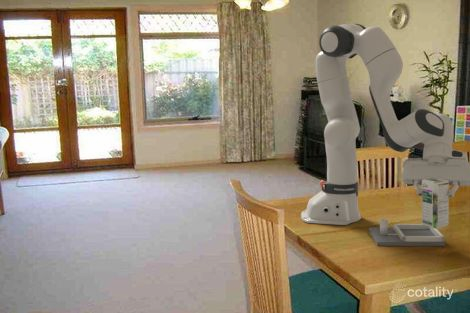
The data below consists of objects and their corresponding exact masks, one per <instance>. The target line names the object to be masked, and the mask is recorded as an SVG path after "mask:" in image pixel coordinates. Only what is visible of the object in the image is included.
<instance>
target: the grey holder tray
mask: <svg viewBox="0 0 470 313" xmlns="http://www.w3.org/2000/svg"><path fill="white" fill-rule="evenodd" d="M388 222H389V221H388V219H386V218H380V219H379V227H368V232H369V234H370V236H371V237H372V239H373V241H374V243H375V245H376V246H381V247H383V246H384V247H385V246H387V247H389V246H391V247H392V246H398V247H399V246H401V247H402V246H403V247H404V246H406V247H408V246H410V247H411V246H413V247H418V246H419V247H420V246H421V247H422V246H423V247H425V246H426V247H436V246H437V247H445V246H446V242H445V236H444V235H443V234H442V232H440V231H439V230H438V228H436V229H435V228H432V227H429V226H426V225H422V223H392V227H389V224H388Z"/></svg>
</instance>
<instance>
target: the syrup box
mask: <svg viewBox="0 0 470 313" xmlns="http://www.w3.org/2000/svg"><path fill="white" fill-rule="evenodd" d="M421 189H422V196H421V224H422V225H426V226H429V227H432V228H435V229H439V228H444V227H447V226H449V221H450V220H449V217H450V216H449V214H450V212H449V210H450V209H449V207H450V206H449V205H450V204H449V203H450V199H449V198H450V197H449V196H448V190H449V189H450V185H449V180H441V179H431V178H428V179H424V180H422V185H421Z"/></svg>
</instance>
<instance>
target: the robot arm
mask: <svg viewBox="0 0 470 313" xmlns="http://www.w3.org/2000/svg"><path fill="white" fill-rule="evenodd" d="M318 40H319V41H318V45H319V48H320V50H321V51H320V52H318V53H317V55H316V57H315V76H316V82H317V88H318V92H319V96H320V104H321V106H322V107H323V109H324V112H325V115H326V118H327V124H326V125H325V127H324V131H323V138H324V147H325V153H326V154H325V155H326V163H327V164H326V166H327V168H326V181H324V180H323V179H322V180H320V181H319V185H320V186H321V190H320V191H319V192H318V193H317V194H315V195H314V196H312V197H310V199H309V200H308V203H307V206H306V209H304V210H302V211H301V214H300V218H301V220H302V221H303V222H305V223H307V224H319V225H321V224H323V225H336V226H337V225H340V226H347V225H350V224H351V223H355V222H358V221H360V220H361V219H362V218H361V213H360V210H359V203H358V202H359V201H358V197H359V182H358V159H357V148H356V147H357V146H356V145H357V144H356V139H357V137H359V135H360V131H361V127H360V122H359V118H358V114H357V110H356V107H355V103H354V101H353V97H352V93H351V86H350V82H349V78H348V77H349V76H348V72H347V64H346V63H347V61H348V59H353V58H354V57H355V56H357V55H358V56H359V57H360V59H361V60H362V62H363V64H364V65H365V67H366V69H367V72H368V77H369V86H368V91H369V95H370V98H371V101H372V104H373V106H374V109H375V112H376V115H377V117H378V120H379V123H380V124H381V128H382V132H383V137H384V141H385V143H386V146H388V148H390V149H391V150H393V151H395V152H397V153H404V152H406V151H408V150H410V149H411V148H413V146H416V145H418V144H420V143H422V144H423V145H424V146H423V152H422V157H415V158H413V157H408V158H407V159H405V160H403V162H402V168H403V169H402V173H401V178H402V179H401V181H402V182H403V183H404V184H405V185H413V186H414V189H415V190H416V196H418V197H419V196H421V197H422V187H421V188H420V185H421V186H422V180H424V179H428V178H431V179H441V180H449V187H450V186H451V189H450V188H449V190H448V196H449V198H454V197H455V193H456V191H457V190H458V189H459V187H469V186H470V162H469V159H468V154H467V152H465V151H461V150H457V149H453V144H454V125H453V122H452V119H451V118H450V117H449V116H448V115H447V114H444V113H440V112H439V113H434V112H432V111H431V110H428V109H425V108H420V109H417V110H415V111H414V112H411V113H409V114H408V115H407V116H405V117H404V118H401V119H400V120H398V118H397V116H396V113H395V110H394V107H393V104H392V102H391V92H392V90H393V87H394V86H395V84H396V82H397V81H398V80H399V78H400V76H401V74H402V73H403V72H402V71H403V68H404V67H403V66H404V64H403V62H404V61H403V59H402V56H401V55H400V53H399V51H398V49H397V48H396V46H395V44H394V43H393V41H392V40H391V39H390V37H389V35H387V33H386V32H385V31H384V30H383V29H382V28H381V27H379V26H375V25H373V26H369V27H366V26H365V25H362V24H359V23H342V24H339V25H331V26H328V27H327V28H325V29H324V30H322V32H321V34H320V36H319V39H318Z"/></svg>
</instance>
